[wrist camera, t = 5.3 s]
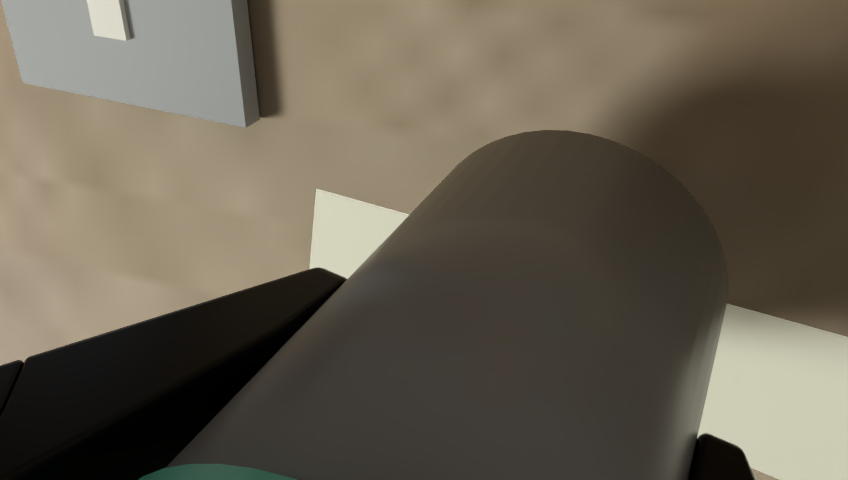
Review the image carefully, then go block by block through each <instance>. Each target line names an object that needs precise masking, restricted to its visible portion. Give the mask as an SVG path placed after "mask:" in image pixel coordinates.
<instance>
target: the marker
mask: <svg viewBox="0 0 848 480" xmlns="http://www.w3.org/2000/svg"><path fill="white" fill-rule="evenodd" d="M727 296H728V277H727V268H726V262H725V258H724V255H723V251H722V247H721V244H720V242H719V239H718V237H717V235H716V232H715V230H714V228H713V226H712V224H711V222H710V221H709V219H708V217H707V216H706V214H705V213H704V211H703V209H702V208H701V206H700V205H699V204H698V203H697V201H696V200H695V199H694V198H693V196H692V195H691V194H690V193H689V192H688V190H687V189H686V188H685V187H684V186H683V185H682V184H681V183H679V182H678V181H677V180H676V179H675V178H674V177H673V176H672V175H671V174H670V173H668V172H667V171H666V170H664V169H663V168H662V167H660V166H659V165H658V164H656V163H655V162H653V161H652V160H650V159H649V158H647V157H645V156H643V155H642V154H640V153H638V152H636V151H634V150H633V149H631V148H628V147H626V146H623V145H621V144H619V143H616V142H614V141H611V140H608V139H605V138H601V137H597V136H594V135H590V134H585V133H579V132H572V131H559V130H542V131H533V132H524V133H520V134H516V135H512V136H508V137H504V138H502V139H499V140H497V141H494V142H492V143H489V144H487V145H485V146H484V147H482V148H480V149H478V150H477V151H475V152H473V153H472V154H471V155H469V156H468V157H467V158H466V159H464V160H463V161H462V162H461V163H459V164H458V165H457V166H456V167H455V168H454V169H453V170H452V171H451V172H450V174H449V175H448V176H447V177H446V178H445V179H444V180H443V181H442V182H441V183H440V184H439V185H438V186H437V187H436V188H435V189H434V190H433V191H432V192H431V193H430V194H429V195H428V196H427V197H426V198H425V199H424V200H423V201H422V203H421V204H420V205H419V206H418V207H417V208H416V209H415V210H414V211H413V212H412V213H411V214H410V215H409V216H408V217H407V218H406V219H405V220H404V221H403V222H402V223H401V224H400V225H399V226H398V227H397V228H396V229H395V231H394V232H393V233H392V234H391V235H390V236H389V237H388V238H387V239H386V240H385V241H384V242H383V243H382V244H381V245H380V246H379V247H378V248H377V249H376V250H375V251H374V252H373V253H372V254H371V255H370V256H369V257H368V258H367V260H366V261H365V262H364V263H363V264H362V265H361V266H360V267H359V268H358V269H357V270H356V271H355V272H354V273H353V274H352V275H351V276H350V277H349V278H348V279H347V280H346V281H345V282H344V283H343V284H342V285H341V286H340V287H339V289H338V290H337V291H336V292H335V293H334V294H333V295H332V296H331V297H330V298H329V299H328V300H327V301H326V302H325V303H324V304H323V305H322V306H321V307H320V308H319V309H318V310H317V311H316V312H315V313H314V314H313V315H312V316H311V318H310V319H309V320H308V321H307V322H306V323H305V324H304V325H303V326H302V327H301V328H300V329H299V330H298V331H297V332H296V333H295V334H294V335H293V336H292V337H291V338H290V339H289V340H288V341H287V342H286V343H285V344H284V345H283V347H282V348H281V349H280V350H279V351H278V352H277V353H276V354H275V355H274V356H273V357H272V358H271V359H270V360H269V361H268V362H267V363H266V364H265V365H264V366H263V367H262V368H261V369H260V370H259V371H258V372H257V373H256V374H255V376H254V377H253V378H252V379H251V380H250V381H249V382H248V383H247V384H246V385H245V386H244V387H243V388H242V389H241V390H240V391H239V392H238V393H237V394H236V395H235V396H234V397H233V398H232V399H231V400H230V401H229V402H228V404H227V405H226V406H225V407H224V408H223V409H222V410H221V411H220V412H219V413H218V414H217V415H216V416H215V417H214V418H213V419H212V420H211V421H210V422H209V423H208V424H207V425H206V426H205V427H204V428H203V429H202V430H201V431H200V433H199V434H198V435H197V436H196V437H195V438H194V439H193V440H192V441H191V442H190V443H189V444H188V445H187V446H186V447H185V448H184V449H183V450H182V451H181V452H180V453H179V454H178V455H177V456H176V457H175V458H174V459H173V460H172V462H171V463H170V464H169V465H168V466H167V467H166V468H163V469H161V470H158V471H155V472H153V473H150V474H148V475H145V476H143V477H141V478H140V479H138V480H688V477H689V472H690V468H691V463H692V459H693V454H694V450H695V445H696V441H697V436H698V432H699V427H700V423H701V418H702V414H703V409H704V405H705V400H706V396H707V391H708V387H709V382H710V377H711V373H712V368H713V364H714V359H715V355H716V350H717V346H718V341H719V337H720V332H721V328H722V323H723V319H724V314H725V309H726V305H727Z"/></svg>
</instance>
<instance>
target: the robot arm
mask: <svg viewBox="0 0 848 480" xmlns="http://www.w3.org/2000/svg"><path fill="white" fill-rule="evenodd" d="M346 280H347V279H346V278H345V277H343V276H340V275H338V274H336V273H333V272H331V271H329V270H326V269H324V268H320V267H318V268H312V269H309V270H306V271H302V272H299V273H296V274H293V275H290V276H286V277H283V278H280V279H277V280H274V281H270V282H267V283H264V284H261V285H258V286H254V287H251V288H248V289H245V290H242V291H238V292H235V293H232V294H229V295H226V296H222V297H219V298H216V299H213V300H210V301H206V302H203V303H200V304H197V305H194V306H190V307H187V308H184V309H181V310H178V311H174V312H171V313H168V314H165V315H162V316H158V317H155V318H152V319H149V320H146V321H142V322H139V323H136V324H133V325H130V326H126V327H123V328H120V329H117V330H114V331H110V332H107V333H104V334H101V335H98V336H94V337H91V338H88V339H85V340H82V341H78V342H75V343H72V344H69V345H66V346H62V347H59V348H56V349H53V350H50V351H46V352H43V353H40V354H37V355H34V356H30V357H28V358H27V359H26V360H25V362H24V363H23V362H22V361H21V360H17V361H14V362H10V363H7V364H4V365H1V366H0V480H138V479H140V478H141V477H143V476H145V475H148V474H150V473H153V472H155V471H158V470H161V469H163V468H166V467H167V466H168V465H169V464H170V463H171V462H172V460H173V459H174V458H175V457H176V456H177V455H178V454H179V453H180V452H181V451H182V450H183V449H184V448H185V447H186V446H187V445H188V444H189V443H190V442H191V441H192V440H193V439H194V438H195V437H196V436H197V435H198V434H199V433H200V431H201V430H202V429H203V428H204V427H205V426H206V425H207V424H208V423H209V422H210V421H211V420H212V419H213V418H214V417H215V416H216V415H217V414H218V413H219V412H220V411H221V410H222V409H223V408H224V407H225V406H226V405H227V404H228V402H229V401H230V400H231V399H232V398H233V397H234V396H235V395H236V394H237V393H238V392H239V391H240V390H241V389H242V388H243V387H244V386H245V385H246V384H247V383H248V382H249V381H250V380H251V379H252V378H253V377H254V376H255V374H256V373H257V372H258V371H259V370H260V369H261V368H262V367H263V366H264V365H265V364H266V363H267V362H268V361H269V360H270V359H271V358H272V357H273V356H274V355H275V354H276V353H277V352H278V351H279V350H280V349H281V348H282V347H283V345H284V344H285V343H286V342H287V341H288V340H289V339H290V338H291V337H292V336H293V335H294V334H295V333H296V332H297V331H298V330H299V329H300V328H301V327H302V326H303V325H304V324H305V323H306V322H307V321H308V320H309V319H310V318H311V316H312V315H313V314H314V313H315V312H316V311H317V310H318V309H319V308H320V307H321V306H322V305H323V304H324V303H325V302H326V301H327V300H328V299H329V298H330V297H331V296H332V295H333V294H334V293H335V292H336V291H337V290H338V289H339V287H340V286H341V285H342V284H343V283H344V282H345V281H346ZM688 480H755V478H754V475H753V473H752V470H751V468H750V465H749V463H748V460H747V458H746V455H745V453H744V452H743V450H742V449H741V448H740V447H738V446H737V445H734V444H732V443H730V442H727V441H725V440H723V439H720V438H718V437H716V436H713V435H711V434H708V433H704V434H702V435H700V436H699V437H698V438H697V441H696V445H695V450H694V454H693V459H692V463H691V468H690V472H689V477H688Z"/></svg>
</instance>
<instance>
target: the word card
mask: <svg viewBox="0 0 848 480" xmlns="http://www.w3.org/2000/svg"><path fill="white" fill-rule="evenodd" d="M1 2H2V6H3V10H4V13H5V17H6V21H7V25H8V29H9V33H10V36H11V40H12V44H13V48H14V52H15V56H16V59H17V63H18V67H19V71H20V75H21V79H22V82H23V83H26V84H31V85H36V86H41V87H46V88H51V89H56V90H61V91H66V92H71V93H76V94H81V95H86V96H91V97H96V98H101V99H106V100H111V101H116V102H121V103H125V104H130V105H135V106H140V107H145V108H150V109H155V110H160V111H165V112H170V113H175V114H180V115H185V116H190V117H195V118H200V119H205V120H210V121H215V122H220V123H225V124H230V125H235V126H240V127H245V128H246V127H248V126H250V125H251V124H253V123H254V122H256V121H258V120H259V119H260V117H259V108H258V98H257V89H256V79H255V70H254V60H253V51H252V42H251V32H250V23H249V13H248V4H247V0H1Z"/></svg>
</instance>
